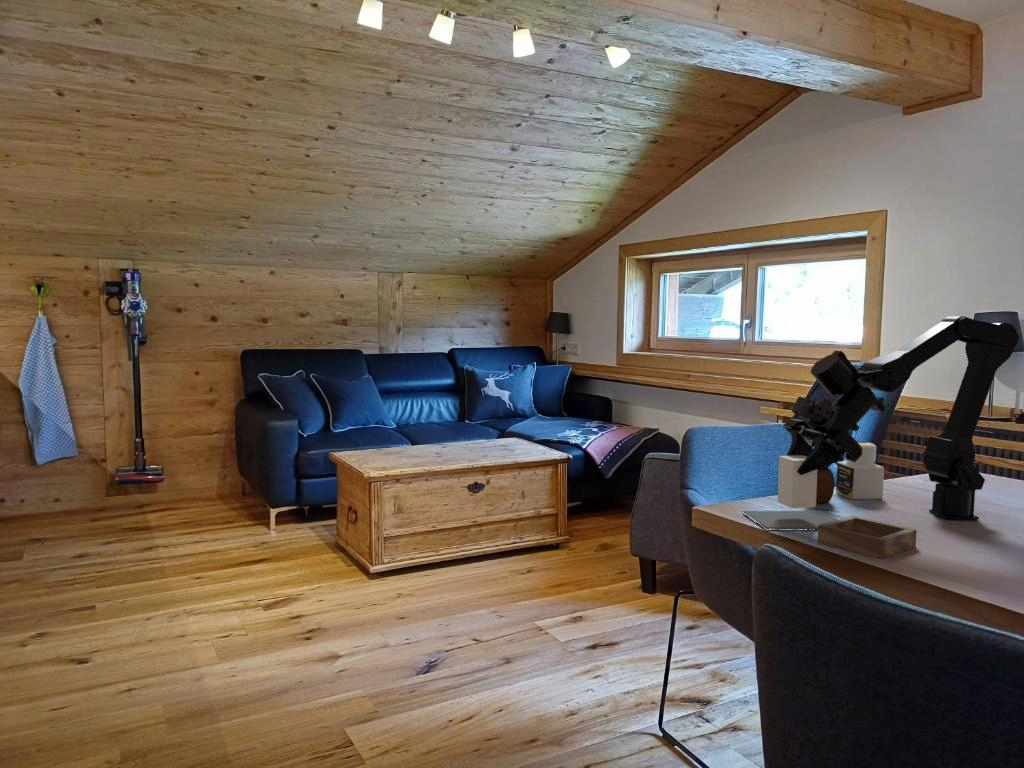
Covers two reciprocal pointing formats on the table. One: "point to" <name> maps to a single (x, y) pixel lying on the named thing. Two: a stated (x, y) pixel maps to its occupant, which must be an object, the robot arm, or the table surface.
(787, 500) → the white block
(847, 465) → the medicine bottle
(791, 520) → the slate mat
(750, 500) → the table surface
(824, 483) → the wooden figurine
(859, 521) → the wooden tray
